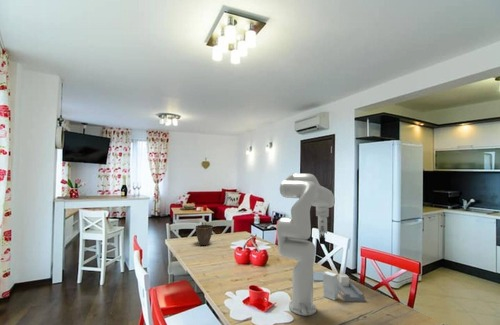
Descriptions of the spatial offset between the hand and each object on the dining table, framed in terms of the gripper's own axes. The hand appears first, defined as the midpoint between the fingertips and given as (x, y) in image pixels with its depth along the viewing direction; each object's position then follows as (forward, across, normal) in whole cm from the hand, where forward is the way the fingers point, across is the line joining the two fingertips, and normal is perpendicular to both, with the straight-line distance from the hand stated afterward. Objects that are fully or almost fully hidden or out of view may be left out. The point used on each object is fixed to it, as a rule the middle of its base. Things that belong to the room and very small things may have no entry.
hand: (322, 241), depth 154 cm
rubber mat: (+22, +2, 0) cm, 22 cm away
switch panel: (+22, -15, -13) cm, 30 cm away
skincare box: (+22, -23, -4) cm, 32 cm away
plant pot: (+22, +42, +98) cm, 109 cm away
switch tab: (+20, -10, -11) cm, 25 cm away
